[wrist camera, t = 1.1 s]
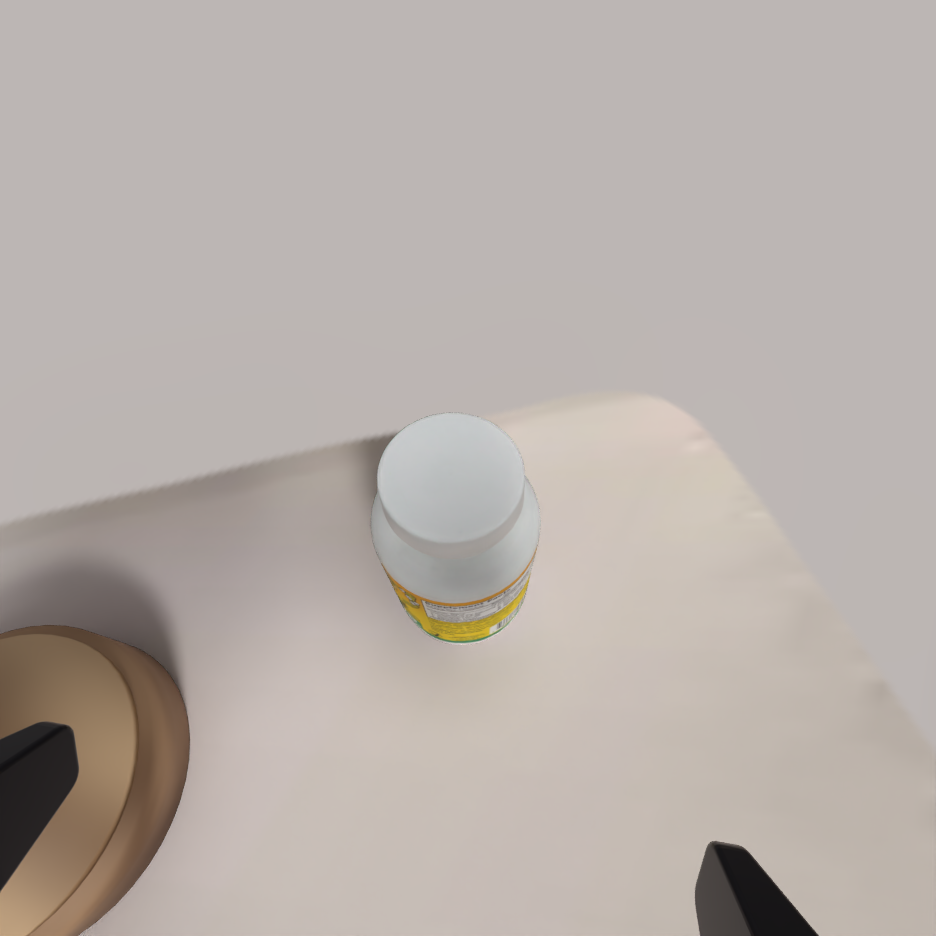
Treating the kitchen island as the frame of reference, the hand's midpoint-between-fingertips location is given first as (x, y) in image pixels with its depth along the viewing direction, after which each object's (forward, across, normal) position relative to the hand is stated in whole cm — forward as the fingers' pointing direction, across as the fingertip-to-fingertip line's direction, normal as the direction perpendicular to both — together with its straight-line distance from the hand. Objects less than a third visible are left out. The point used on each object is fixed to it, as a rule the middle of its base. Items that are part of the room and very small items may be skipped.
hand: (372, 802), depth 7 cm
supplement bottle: (+15, 0, +4) cm, 15 cm away
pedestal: (+8, +14, +11) cm, 19 cm away
